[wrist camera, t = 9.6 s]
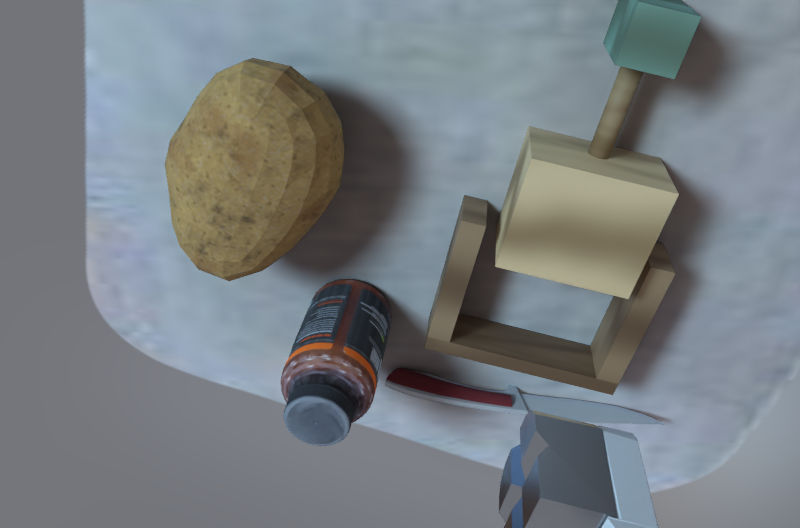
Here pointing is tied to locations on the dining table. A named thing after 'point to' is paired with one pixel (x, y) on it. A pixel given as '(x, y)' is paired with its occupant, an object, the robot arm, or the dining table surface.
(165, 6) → the dining table surface
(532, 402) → the knife
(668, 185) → the oak block with dowel handle
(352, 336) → the supplement bottle
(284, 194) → the potato
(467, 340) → the tan piece
